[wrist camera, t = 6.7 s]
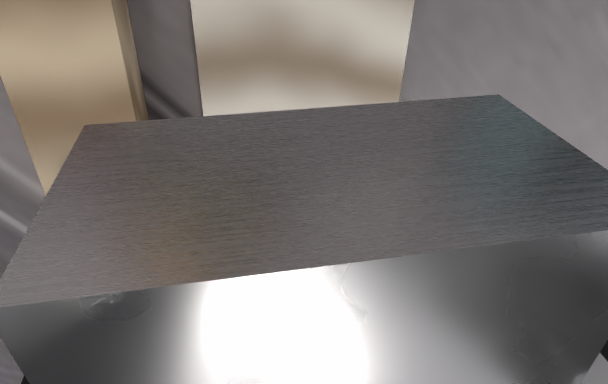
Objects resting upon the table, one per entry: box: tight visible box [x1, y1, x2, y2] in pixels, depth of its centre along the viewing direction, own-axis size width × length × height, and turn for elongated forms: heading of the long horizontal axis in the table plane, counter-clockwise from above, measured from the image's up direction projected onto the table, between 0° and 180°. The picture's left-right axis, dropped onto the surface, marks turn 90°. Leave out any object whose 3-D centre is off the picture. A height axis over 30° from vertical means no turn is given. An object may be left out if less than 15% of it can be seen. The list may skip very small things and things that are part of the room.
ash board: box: [190, 0, 415, 116], centre depth 26 cm, size 14×12×1 cm
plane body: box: [0, 0, 149, 196], centre depth 21 cm, size 23×6×10 cm, turn 178°
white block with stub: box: [0, 95, 608, 384], centre depth 9 cm, size 10×8×6 cm
